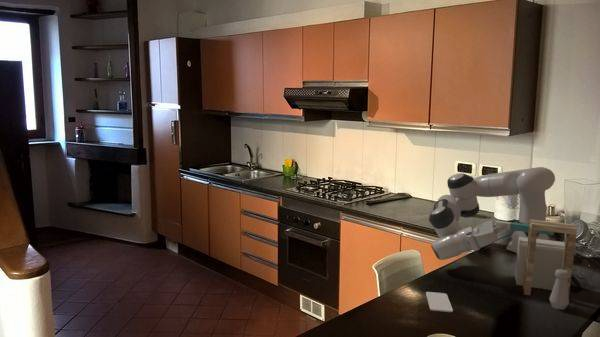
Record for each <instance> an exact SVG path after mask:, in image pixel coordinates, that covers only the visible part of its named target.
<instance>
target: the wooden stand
mask: <svg viewBox="0 0 600 337" xmlns="http://www.w3.org/2000/svg"><path fill="white" fill-rule="evenodd" d="M538 230H540V231H549V232H554V233H559V234H565V237H564V242H565V245H564V253H563V262H562V269H563V270H566V271H568V272H569V273H570V276H569V278H568V279H567V283H568V295H569V296H570V289H571V280H572V275H573V274H572V272H573V265H574V257H575V247H576V241H577V231H578V228H577V226H576V225H575V224H574V223H566V222H558V221H548V220H546V221H540V220H531V219H530V224H529V233H528V243H527V252H526V261H525V270H524V280H523V286H522V290H523V296H525V295H527V296H531V291H532V287H531V285H532V276H533V267H534V258H535V249H536V240H537V231H538Z"/></svg>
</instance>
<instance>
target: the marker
mask: <svg viewBox="0 0 600 337" xmlns="http://www.w3.org/2000/svg"><path fill="white" fill-rule="evenodd" d="M495 224H496V227H499V226H501V225H503V224H506V225H507V227H508V228H507V229H505V230H509V231H523V232H529V224H520V223H517V222H512V221H511V222H510V221H509V222H508V221H505V222H504V221H500V220H496V221H495ZM537 233H540V234H546V235H549V236H550V235H551V236H554V235H555V232H549V231H540V230H538V231H537Z"/></svg>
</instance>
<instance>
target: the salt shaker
mask: <svg viewBox="0 0 600 337" xmlns="http://www.w3.org/2000/svg"><path fill="white" fill-rule="evenodd" d="M555 276H556V277H557V278H556V281H555V284H554V287H553V290H551V293H550V295H549V302H550V304H551V307H552V308H554V309H555V310H560V311H564V310H565V309H566V308H567V307H568V305H569V304H570V294H569V295H568V283H567V279H568V278H569V276H570V273H569V272H568V271H566V270H563V269H557V270H556V271H555Z"/></svg>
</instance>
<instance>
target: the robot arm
mask: <svg viewBox="0 0 600 337" xmlns="http://www.w3.org/2000/svg"><path fill="white" fill-rule="evenodd" d="M555 182H556V175H555V174H554V172H553V171H552V169H550V168H547V167H544V166H537V167H532V168H531V167H530V168H524V169H517V170H510V171H504V172H496V173H495V172H493V173H488V174H484V175H480V176H477V177H473V176H471V175H468V174H466V173H462V172H461V173H460V172H459V173H456V174H453V175H451V176H450V177H449V178H448V179H447V182H446V183H447V188H448V191H449V194H443V195H441V196H440V197H439V198H438V199H437V201H436V202H435V203H434V204H433V208H432V211H431V212H430V214H429V216H428V217H429V218H428V220H429V223H430V224H431V226H432V227H433V229H434V231H435V233H436V234H437V236H438V239H437V240H435V241H433V242H431V244H430V245H431V246H430V247H431V249H432V251H433V253H434V256H435V257H436V258H437V259H438V260H440V261H444V260H449V259H453V258H455V257H458V256H461V254H463V253H468V252H471V251H473V252H476V251H479V250H481V248H483V247H486V246H489V245H490V244H492V243H495V242H496V241H497V240H498V234H500V233H502V232H503V231H505V230H506V229H507V228H508V227H507V225H506V224H503V225H501V226H499V227H496V223H495V222H494V220H493V219H490V220H489V219H488V220H487V221H485V222H483V223H481V224H478V225H476V226H475V227H473V226H472V225H471V226H468V227H465V228H462V227H461V226H460V224H459V220H460V219H461V218H464V219H465V218H466V219H467V218H473V217H475V216H476V215H477V214H478V213H479V212H480V204H479V202H478V201H479V200H478V198H477V197H483V198H496V197H505V196H514V195H516V196H517V195H519V212H518V220H517V222H516V223H520V224H530V219H531V220H540V221H547V212H548V205H547V202H546V191H548V190H549V189H550V188H552V187H553V185H554V183H555ZM503 222H506V220H504V221H503ZM513 231H514V230H513ZM528 233H529V232H523V231H514V232H512V233H511V234H510V241H509V243H508V245H507V246H506V248H505V249H506V251H507V250H508V251H510V252H513V253H515V254H517V249H518V240H519V237H525V238H528ZM537 239H542V240H550V239H549V236H548V234H540V233H537Z"/></svg>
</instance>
